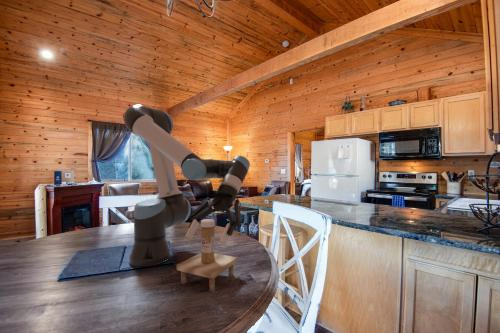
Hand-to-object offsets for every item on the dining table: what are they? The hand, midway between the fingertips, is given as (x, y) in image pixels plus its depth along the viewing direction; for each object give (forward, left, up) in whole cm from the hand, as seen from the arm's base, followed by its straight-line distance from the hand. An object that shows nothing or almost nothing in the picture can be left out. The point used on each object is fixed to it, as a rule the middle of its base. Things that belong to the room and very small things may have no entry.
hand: (204, 241), depth 80 cm
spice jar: (0, +2, -7) cm, 8 cm away
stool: (0, +2, -13) cm, 13 cm away
